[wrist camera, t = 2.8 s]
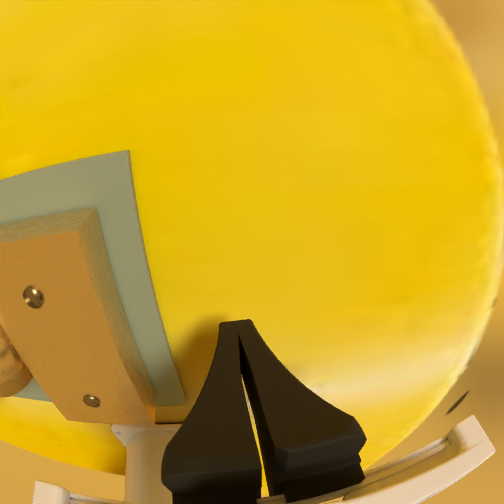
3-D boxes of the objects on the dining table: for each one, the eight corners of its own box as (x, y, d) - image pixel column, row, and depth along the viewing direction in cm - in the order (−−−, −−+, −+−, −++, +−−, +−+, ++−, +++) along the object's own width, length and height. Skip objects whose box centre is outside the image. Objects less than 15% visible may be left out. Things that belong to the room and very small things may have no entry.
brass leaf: (156, 391, 16) (154, 446, 13) (28, 386, 15) (14, 429, 12) (96, 206, 11) (58, 252, 7) (-50, 237, 9) (-91, 274, 6)
